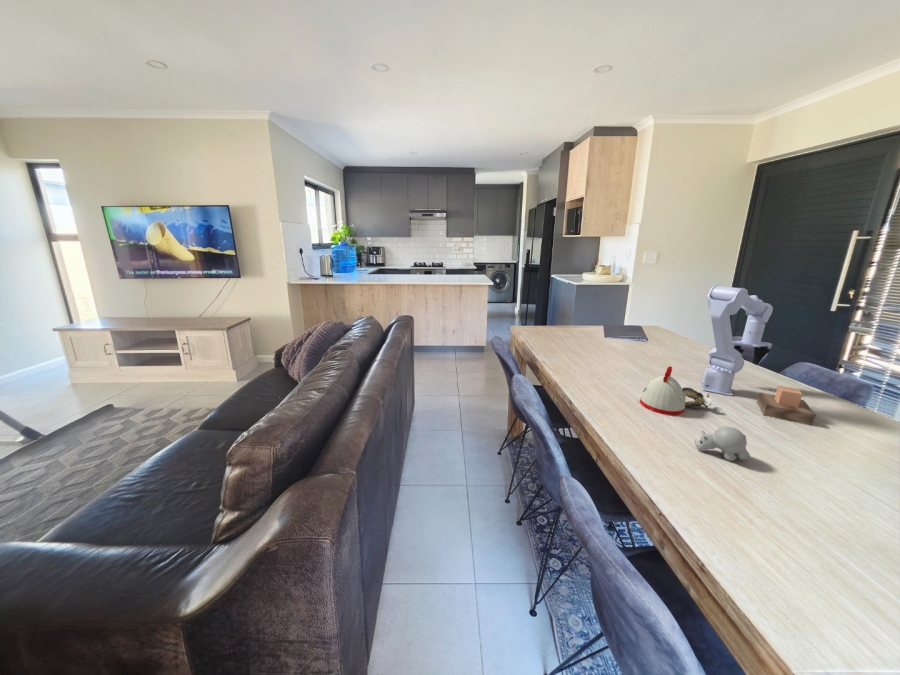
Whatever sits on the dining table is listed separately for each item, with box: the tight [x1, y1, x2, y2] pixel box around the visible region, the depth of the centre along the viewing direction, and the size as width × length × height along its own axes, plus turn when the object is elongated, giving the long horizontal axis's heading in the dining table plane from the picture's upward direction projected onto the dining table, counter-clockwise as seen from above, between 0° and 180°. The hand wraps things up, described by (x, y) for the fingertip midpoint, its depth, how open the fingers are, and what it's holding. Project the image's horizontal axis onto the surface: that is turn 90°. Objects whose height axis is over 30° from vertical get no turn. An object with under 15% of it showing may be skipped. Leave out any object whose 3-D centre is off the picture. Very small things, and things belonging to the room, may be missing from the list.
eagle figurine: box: [681, 387, 713, 410], centre depth 122 cm, size 8×7×9 cm
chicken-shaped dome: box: [639, 365, 687, 416], centre depth 122 cm, size 14×14×15 cm
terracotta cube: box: [774, 385, 803, 408], centre depth 117 cm, size 5×5×5 cm
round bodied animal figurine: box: [693, 426, 751, 462], centre depth 95 cm, size 7×12×8 cm, turn 60°
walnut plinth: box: [756, 392, 816, 426], centre depth 118 cm, size 12×12×4 cm
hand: (745, 363), depth 139 cm, fingers open, 7 cm apart
